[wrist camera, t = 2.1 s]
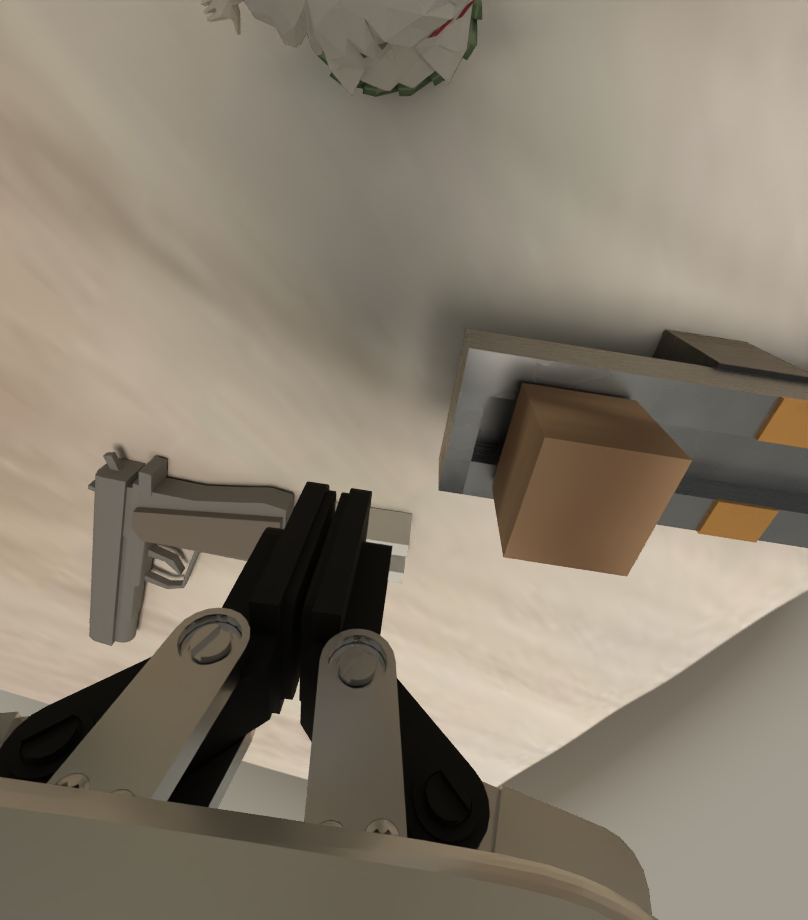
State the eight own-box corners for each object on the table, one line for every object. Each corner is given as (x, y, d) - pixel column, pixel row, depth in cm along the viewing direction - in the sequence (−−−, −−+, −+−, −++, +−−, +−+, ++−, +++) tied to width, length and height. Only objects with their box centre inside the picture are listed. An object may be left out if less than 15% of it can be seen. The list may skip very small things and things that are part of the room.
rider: (488, 463, 19) (503, 557, 14) (515, 365, 17) (545, 437, 12) (579, 477, 19) (627, 576, 14) (619, 381, 17) (692, 460, 12)
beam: (439, 415, 25) (437, 496, 18) (462, 297, 21) (470, 343, 15) (859, 481, 25) (1010, 585, 18) (947, 374, 22) (1172, 454, 15)
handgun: (248, 659, 39) (101, 612, 37) (311, 495, 29) (112, 420, 27) (236, 687, 37) (79, 639, 35) (300, 521, 26) (82, 441, 25)
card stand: (304, 497, 28) (291, 527, 26) (412, 513, 28) (408, 545, 26) (304, 534, 30) (291, 566, 28) (405, 550, 30) (401, 583, 28)
